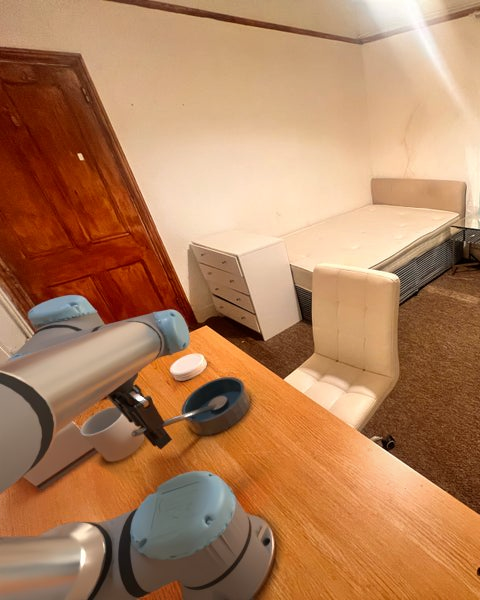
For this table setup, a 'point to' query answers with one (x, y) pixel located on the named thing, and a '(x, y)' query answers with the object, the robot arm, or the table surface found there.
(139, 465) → the table surface
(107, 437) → the mug
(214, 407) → the spoon
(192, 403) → the bowl
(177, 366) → the white round lid
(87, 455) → the white upright box
